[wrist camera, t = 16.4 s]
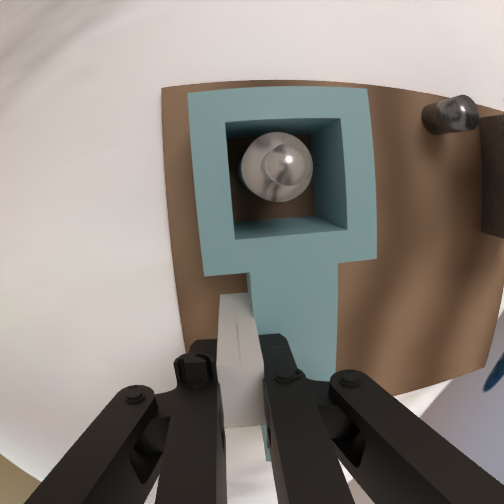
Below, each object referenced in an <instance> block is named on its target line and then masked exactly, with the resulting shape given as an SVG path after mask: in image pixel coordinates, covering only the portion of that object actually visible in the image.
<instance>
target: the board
mask: <svg viewBox="0 0 504 504" xmlns="http://www.w3.org/2000/svg"><path fill="white" fill-rule="evenodd" d="M273 86H326V87H349V88H364V89H367V93H368V101H369V110H370V118H371V128H372V139H373V151H374V165H375V182H376V209H377V259H371V260H362V261H353V262H344V263H338V313H337V347H336V369H335V373H336V372H338V371H341V370H346V369H352V370H358V371H361V372H363V373H365V374H367V375H368V376H369V377H370V378H371V379H373V380H374V381H375V382H376V383H377V384H379V385H380V386H381V387H382V388H383V389H385V390H386V391H387V392H388V393H389V394H391V395H392V396H396V395H400V394H403V393H407V392H411V391H414V390H418V389H421V388H425V387H428V386H431V385H435V384H438V383H441V382H444V381H447V380H450V379H453V378H456V377H459V376H461V375H464V374H467V373H470V372H473V371H475V370H478V369H481V368H483V367H485V364H486V361H487V358H488V354H489V351H490V347H491V343H492V339H493V335H494V331H495V327H496V323H497V318H498V314H499V309H500V304H501V299H502V293H503V287H504V239H503V238H499V237H496V236H493V235H489V234H486V233H482V232H481V218H482V160H481V142H480V130H479V124H478V126H477V128H476V129H474V130H471V131H463V132H455V133H448V134H441V135H433V134H431V133H429V132H428V131H427V130H426V129H425V127H424V125H423V123H422V118H421V113H422V110H423V108H424V107H425V106H426V105H429V104H432V103H435V102H439V101H442V100H445V99H449V98H448V97H443V96H438V95H433V94H428V93H423V92H417V91H411V90H405V89H398V88H391V87H383V86H375V85H366V84H356V83H344V82H329V81H308V80H249V81H228V82H213V83H201V84H191V85H181V86H173V87H165V88H162V126H163V148H164V166H165V181H166V194H167V206H168V218H169V228H170V238H171V248H172V257H173V265H174V273H175V281H176V289H177V296H178V304H179V311H180V317H181V324H182V330H183V337H184V343H185V349H186V353H189V349H190V346H191V345H192V343H193V342H194V341H195V340H201V339H218V322H219V304H220V294H234V293H248V288H247V276H246V273H237V274H227V275H216V276H205V277H204V270H203V262H202V253H201V245H200V236H199V227H198V217H197V207H196V197H195V187H194V176H193V164H192V152H191V139H190V126H189V111H188V94H187V93H193V92H202V91H211V90H222V89H234V88H250V87H273ZM476 106H477V108H478V111H479V118H481V117H488V116H494V115H501V114H504V112H502V111H499V110H496V109H492V108H489V107H485V106H481V105H478V104H476ZM292 136H294V137H296V138H298V139H299V140H300V141H301V142H302V143H303V144H304V145H305V146H306V147H307V149H308V151H309V152H310V155H311V147H310V135H309V134H297V135H292ZM259 137H260V136H256V137H242V138H230V139H226V142H227V154H228V166H229V178H230V190H231V201H232V213H233V222H242V221H253V220H264V219H276V218H288V217H301V216H314V215H315V205H314V188H313V173H312V177H311V180H310V183H309V184H308V186H307V188H306V189H305V190H304V191H303V192H302V193H301V194H300V195H299V196H297V197H295V198H294V199H291V200H288V201H284V202H273V201H268V200H265V199H263V198H261V197H259V196H258V195H256V194H254V193H252V192H251V191H249V190H247V189H246V188H245V187H244V186H243V185H242V183H241V182H240V179H239V176H238V166H239V163H240V160H241V159H242V157H243V155H244V154H245V152H246V151H247V149H248V147H249V146H250V145H251V144H252V142H254V141H255V140H256V139H257V138H259Z"/></svg>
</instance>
